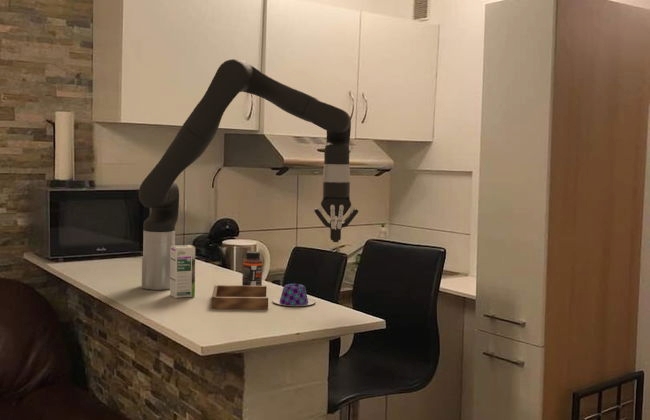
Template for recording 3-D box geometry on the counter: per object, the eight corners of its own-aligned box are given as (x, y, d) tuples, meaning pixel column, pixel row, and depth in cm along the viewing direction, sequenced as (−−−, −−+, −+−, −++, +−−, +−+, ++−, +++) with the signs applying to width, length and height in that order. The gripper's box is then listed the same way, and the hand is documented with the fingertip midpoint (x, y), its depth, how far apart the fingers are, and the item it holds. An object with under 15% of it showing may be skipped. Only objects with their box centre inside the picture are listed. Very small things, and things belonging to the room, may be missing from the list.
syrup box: (175, 298, 204) (176, 247, 203) (169, 294, 209) (170, 244, 208) (194, 297, 207) (195, 246, 206) (188, 293, 212) (189, 243, 211)
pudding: (318, 308, 200) (319, 289, 199) (275, 308, 197) (275, 289, 197) (311, 299, 211) (312, 281, 211) (270, 299, 209) (270, 281, 209)
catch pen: (211, 308, 193) (211, 297, 193) (214, 295, 210) (214, 285, 210) (268, 309, 195) (268, 298, 195) (266, 295, 212) (266, 285, 212)
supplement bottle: (258, 291, 219) (259, 253, 218) (239, 289, 220) (240, 252, 219) (264, 287, 225) (265, 251, 224) (245, 286, 226) (246, 250, 225)
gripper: (314, 180, 199) (313, 243, 201) (362, 181, 201) (360, 243, 202) (311, 179, 207) (310, 240, 208) (357, 180, 208) (356, 240, 210)
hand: (335, 241), depth 205 cm, fingers closed
